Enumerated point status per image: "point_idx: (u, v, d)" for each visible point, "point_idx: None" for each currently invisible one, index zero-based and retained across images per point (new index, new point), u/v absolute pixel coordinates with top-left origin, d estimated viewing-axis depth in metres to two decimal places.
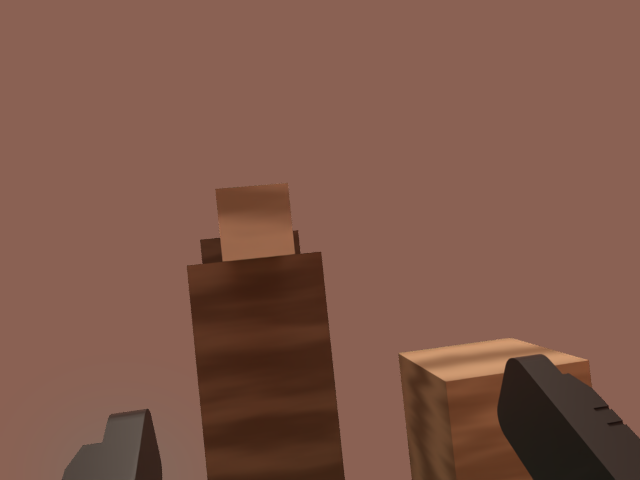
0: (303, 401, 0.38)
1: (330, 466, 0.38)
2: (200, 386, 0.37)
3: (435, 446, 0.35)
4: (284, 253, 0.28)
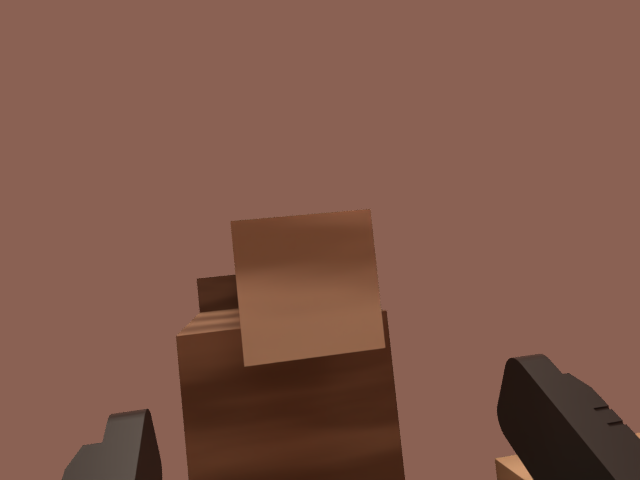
0: None
1: None
2: None
3: None
4: (365, 347, 0.14)
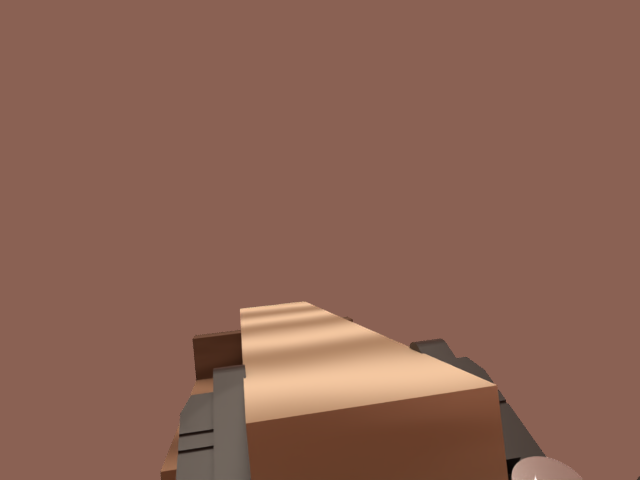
0: None
1: None
2: None
3: None
4: None
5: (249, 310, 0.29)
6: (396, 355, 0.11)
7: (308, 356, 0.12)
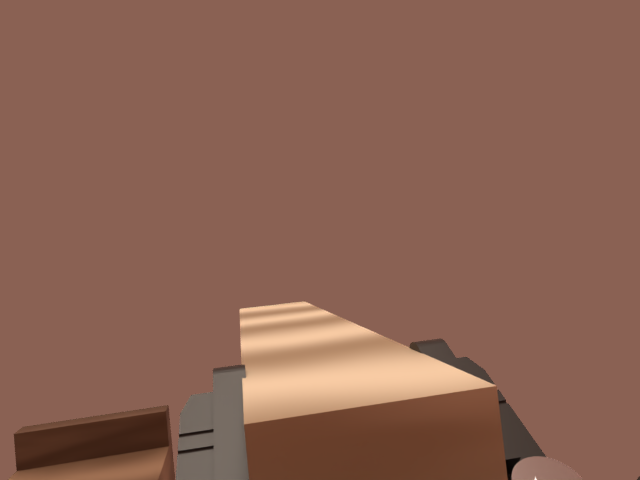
0: None
1: None
2: None
3: None
4: None
5: (248, 310, 0.29)
6: (395, 355, 0.11)
7: (307, 356, 0.12)
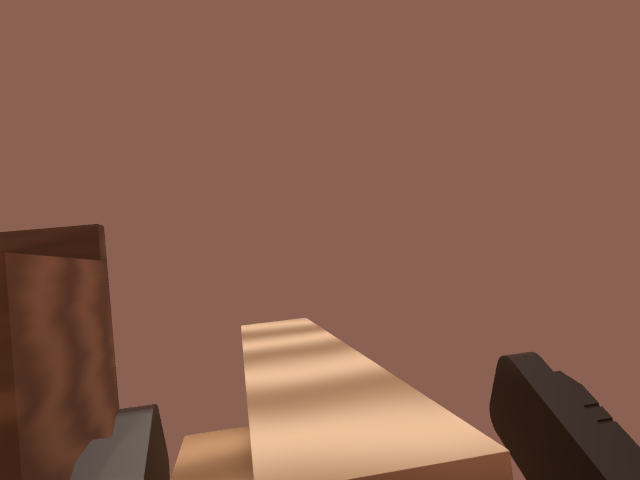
0: None
1: None
2: None
3: None
4: None
5: (250, 328, 0.29)
6: (403, 401, 0.11)
7: (314, 398, 0.12)
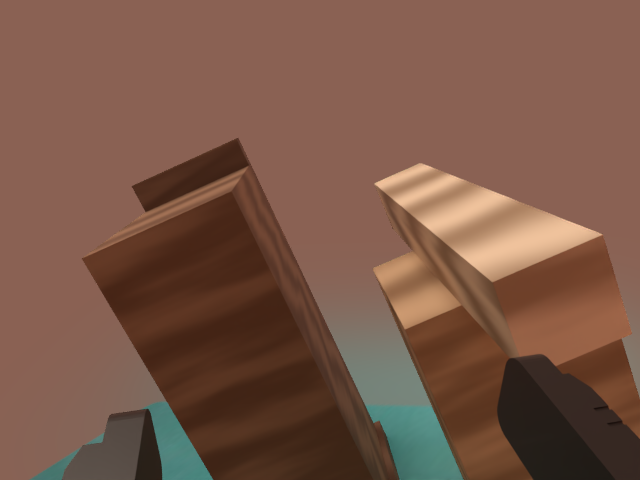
0: (271, 359, 0.33)
1: (324, 412, 0.34)
2: (154, 376, 0.33)
3: (424, 381, 0.30)
4: (615, 338, 0.18)
5: (385, 184, 0.38)
6: (537, 220, 0.20)
7: (483, 230, 0.22)
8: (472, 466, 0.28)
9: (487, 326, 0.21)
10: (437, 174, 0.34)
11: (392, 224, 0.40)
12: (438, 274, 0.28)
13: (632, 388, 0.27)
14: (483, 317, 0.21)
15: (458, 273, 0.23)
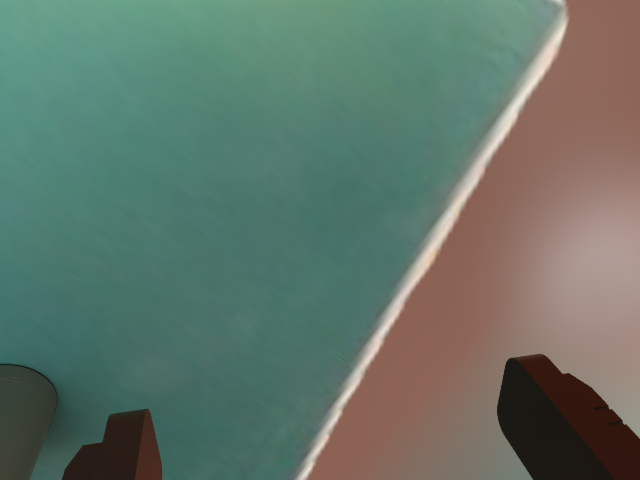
0: None
1: None
2: None
3: None
4: None
5: None
6: None
7: None
8: None
9: None
10: None
11: None
12: None
13: None
14: None
15: None
